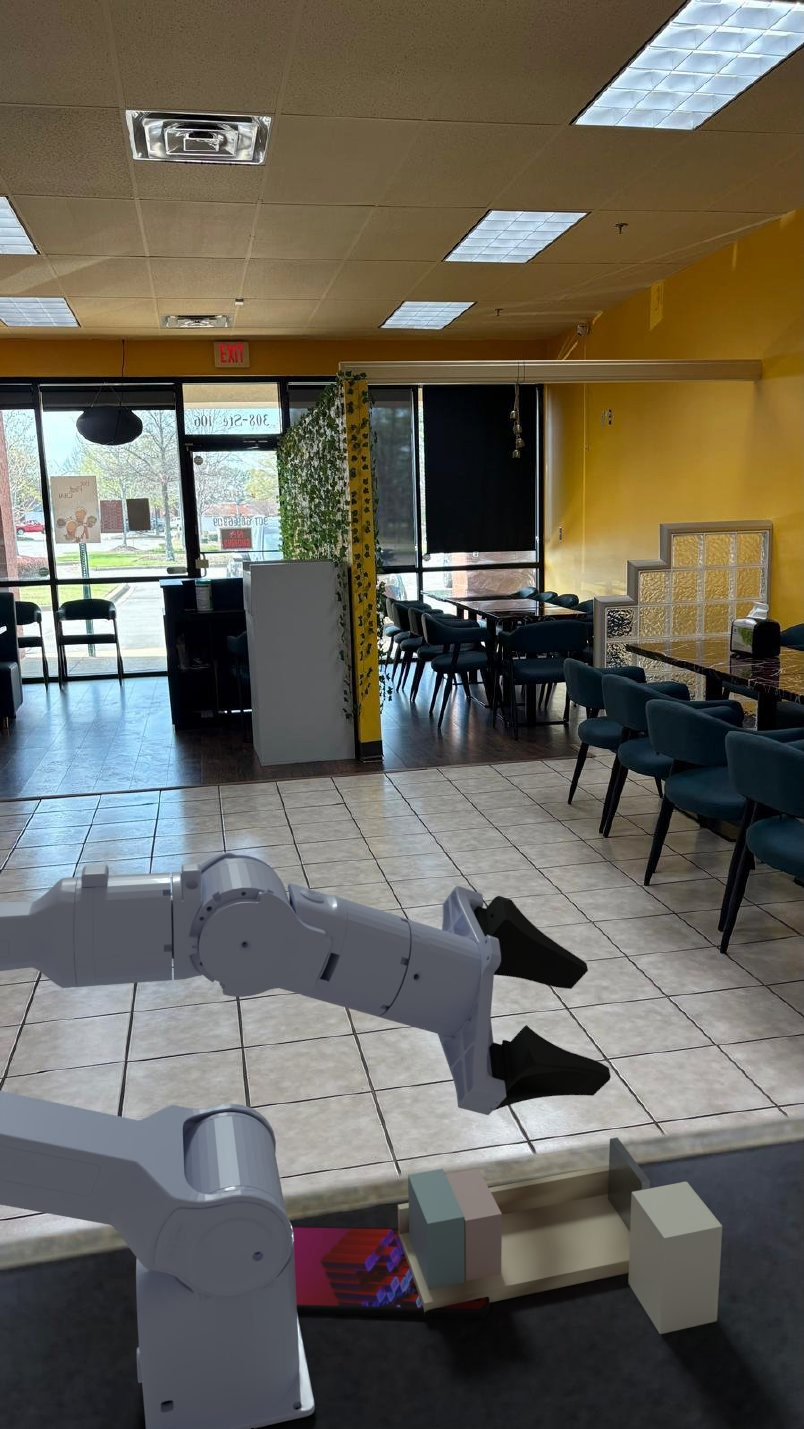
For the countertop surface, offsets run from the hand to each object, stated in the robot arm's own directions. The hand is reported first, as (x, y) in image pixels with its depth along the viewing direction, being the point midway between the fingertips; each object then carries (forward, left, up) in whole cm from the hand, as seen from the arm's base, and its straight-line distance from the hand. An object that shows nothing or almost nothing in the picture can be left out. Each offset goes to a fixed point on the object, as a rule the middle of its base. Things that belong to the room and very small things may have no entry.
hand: (589, 1026), depth 62 cm
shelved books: (-7, +5, -20) cm, 22 cm away
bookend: (+6, +5, -20) cm, 22 cm away
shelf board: (-1, +5, -20) cm, 21 cm away
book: (+6, -1, -20) cm, 21 cm away
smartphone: (-12, +7, -21) cm, 25 cm away
